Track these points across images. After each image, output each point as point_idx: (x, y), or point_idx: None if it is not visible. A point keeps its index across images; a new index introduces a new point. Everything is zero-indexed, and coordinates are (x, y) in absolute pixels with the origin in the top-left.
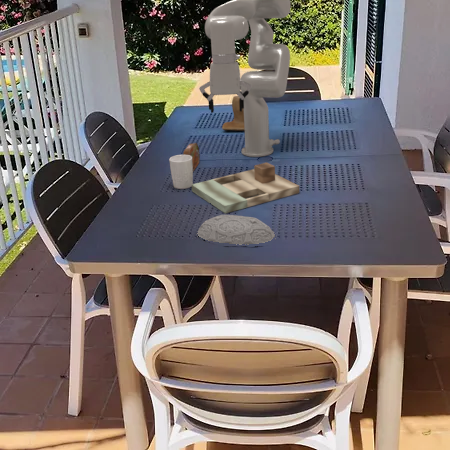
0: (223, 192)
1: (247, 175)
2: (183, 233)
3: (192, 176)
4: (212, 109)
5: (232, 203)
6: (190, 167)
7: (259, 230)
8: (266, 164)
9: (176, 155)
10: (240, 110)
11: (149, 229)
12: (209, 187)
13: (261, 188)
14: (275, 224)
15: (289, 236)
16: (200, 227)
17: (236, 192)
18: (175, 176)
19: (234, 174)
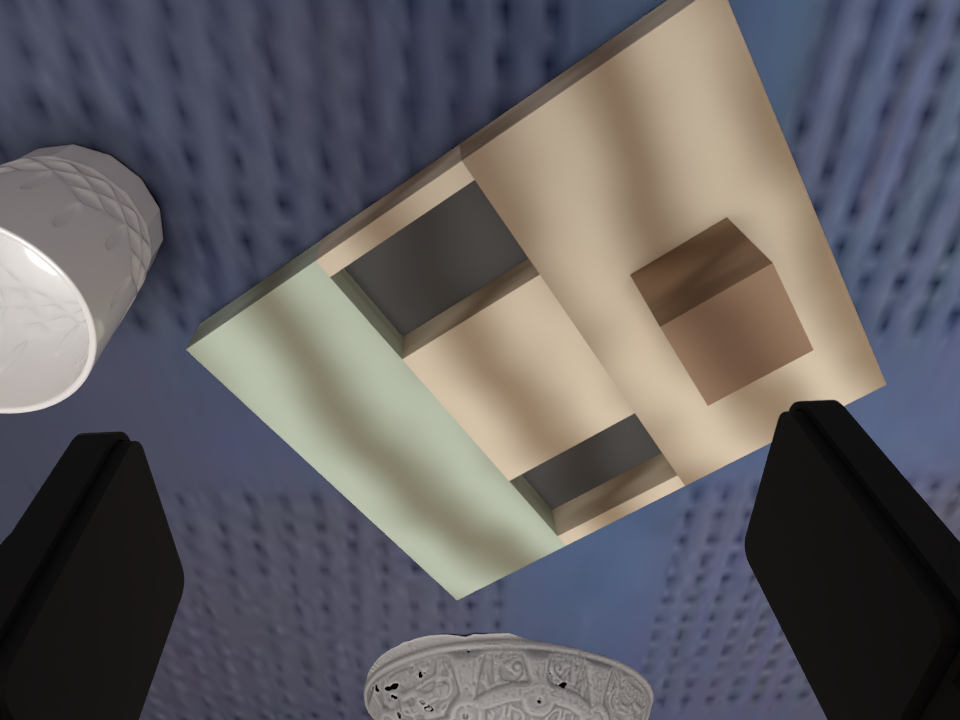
0: (431, 465)
1: (582, 191)
2: (311, 700)
3: (143, 244)
4: (155, 638)
5: (492, 578)
6: (117, 322)
7: None
8: (760, 309)
9: None
10: (766, 568)
11: (157, 684)
12: (328, 397)
13: (656, 417)
14: (664, 638)
15: (697, 699)
16: (377, 715)
17: (507, 465)
18: (22, 323)
19: (478, 163)
